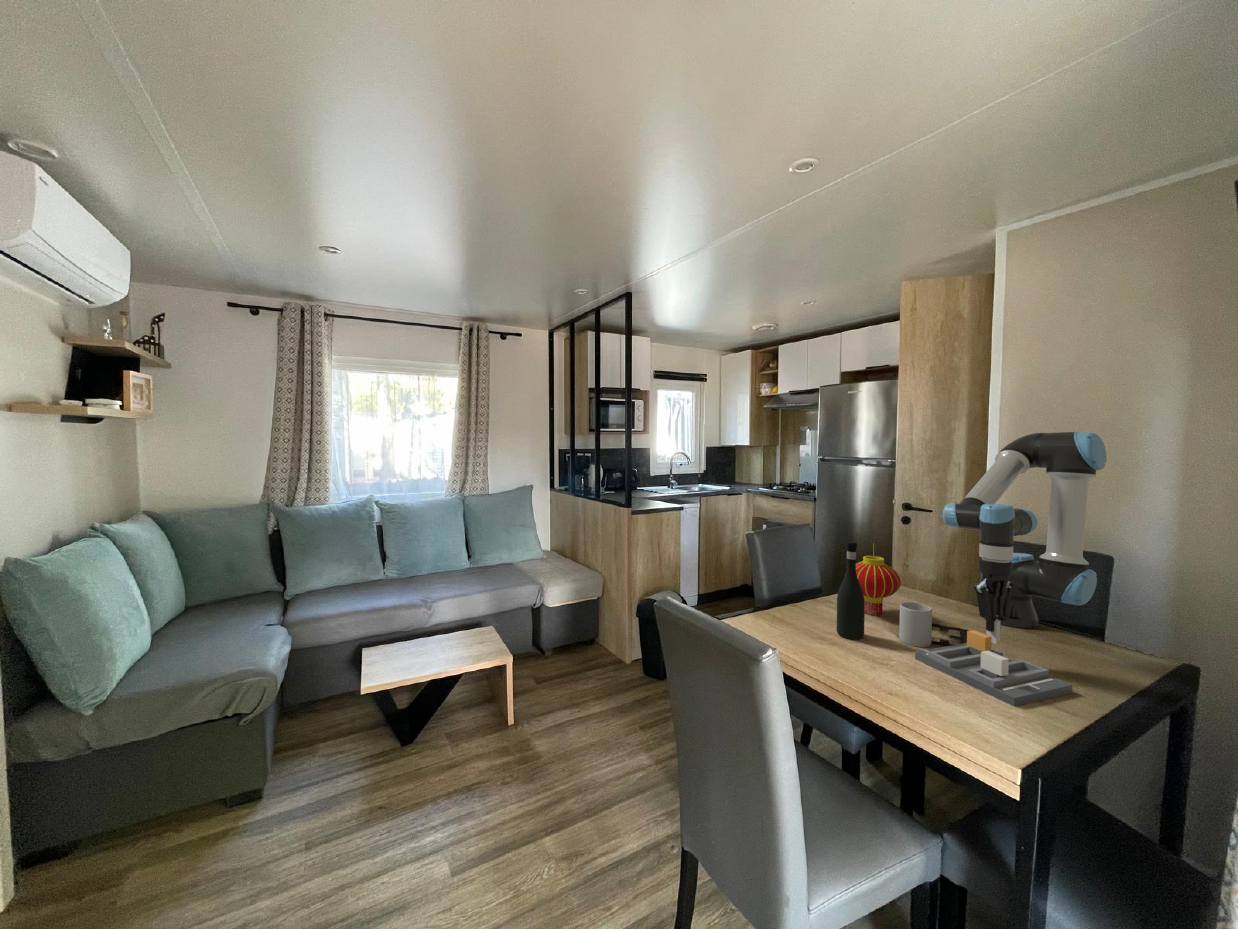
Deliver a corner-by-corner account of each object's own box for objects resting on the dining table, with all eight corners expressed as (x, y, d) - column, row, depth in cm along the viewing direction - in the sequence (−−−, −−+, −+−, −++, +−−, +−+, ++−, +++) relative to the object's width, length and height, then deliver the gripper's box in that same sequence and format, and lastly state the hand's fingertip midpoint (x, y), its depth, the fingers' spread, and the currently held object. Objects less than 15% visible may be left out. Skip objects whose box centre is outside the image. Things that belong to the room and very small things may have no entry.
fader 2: (988, 672, 123) (988, 650, 123) (1008, 681, 118) (1009, 658, 118) (979, 674, 122) (980, 652, 122) (1000, 683, 117) (1000, 660, 117)
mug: (928, 649, 142) (929, 613, 141) (895, 641, 147) (896, 606, 147) (936, 637, 150) (936, 603, 150) (905, 630, 156) (905, 597, 156)
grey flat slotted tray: (966, 649, 142) (967, 637, 142) (1072, 693, 117) (1072, 679, 117) (914, 658, 136) (915, 646, 136) (1014, 706, 111) (1014, 691, 111)
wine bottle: (842, 628, 158) (843, 538, 157) (867, 635, 152) (869, 542, 151) (832, 635, 152) (833, 542, 151) (858, 642, 147) (860, 546, 146)
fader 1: (973, 650, 136) (974, 630, 136) (991, 657, 131) (992, 636, 131) (965, 651, 135) (966, 631, 135) (983, 658, 131) (984, 638, 130)
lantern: (836, 605, 180) (837, 527, 179) (879, 604, 182) (880, 526, 181) (864, 622, 163) (866, 535, 162) (911, 620, 165) (913, 534, 164)
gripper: (998, 554, 139) (995, 634, 140) (965, 558, 136) (962, 639, 136) (1026, 560, 132) (1023, 644, 133) (992, 564, 128) (989, 650, 129)
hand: (992, 642), depth 135 cm, fingers closed
